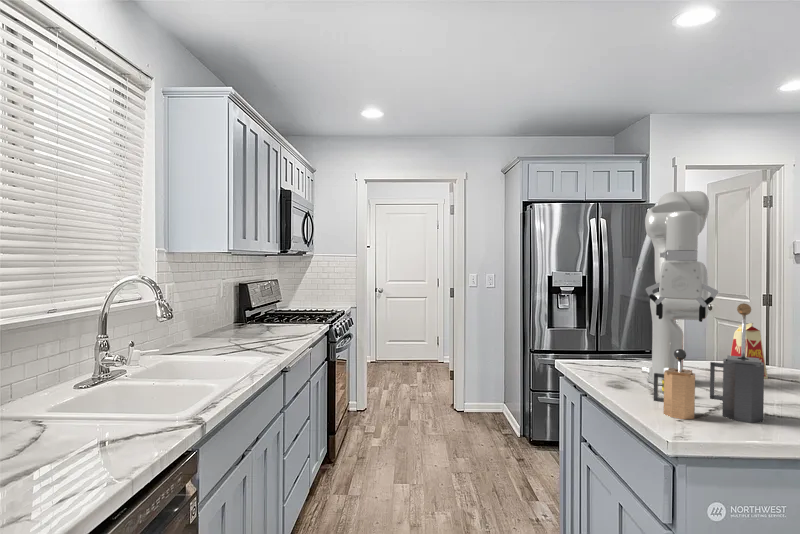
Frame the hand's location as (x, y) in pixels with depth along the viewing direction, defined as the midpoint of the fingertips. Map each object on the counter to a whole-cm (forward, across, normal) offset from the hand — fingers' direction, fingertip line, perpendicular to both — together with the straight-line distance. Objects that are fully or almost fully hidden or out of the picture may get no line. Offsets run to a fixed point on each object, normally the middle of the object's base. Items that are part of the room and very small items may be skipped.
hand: (680, 319), depth 139 cm
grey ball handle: (+26, 0, -2) cm, 26 cm away
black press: (+26, +13, +6) cm, 30 cm away
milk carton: (+28, +17, +69) cm, 76 cm away
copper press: (+26, -1, -2) cm, 26 cm away
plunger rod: (+17, +15, +6) cm, 23 cm away
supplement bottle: (+27, -4, +20) cm, 34 cm away
